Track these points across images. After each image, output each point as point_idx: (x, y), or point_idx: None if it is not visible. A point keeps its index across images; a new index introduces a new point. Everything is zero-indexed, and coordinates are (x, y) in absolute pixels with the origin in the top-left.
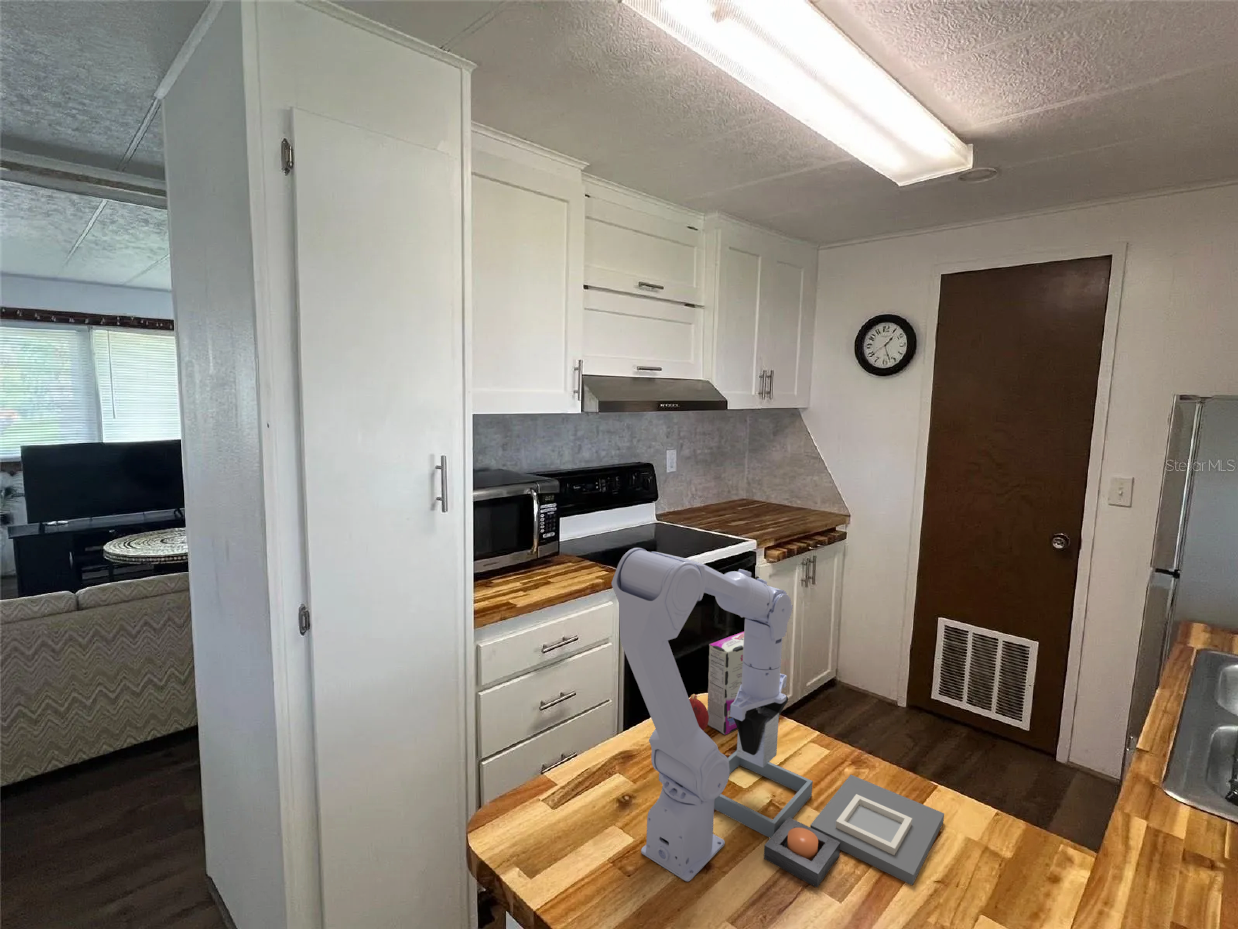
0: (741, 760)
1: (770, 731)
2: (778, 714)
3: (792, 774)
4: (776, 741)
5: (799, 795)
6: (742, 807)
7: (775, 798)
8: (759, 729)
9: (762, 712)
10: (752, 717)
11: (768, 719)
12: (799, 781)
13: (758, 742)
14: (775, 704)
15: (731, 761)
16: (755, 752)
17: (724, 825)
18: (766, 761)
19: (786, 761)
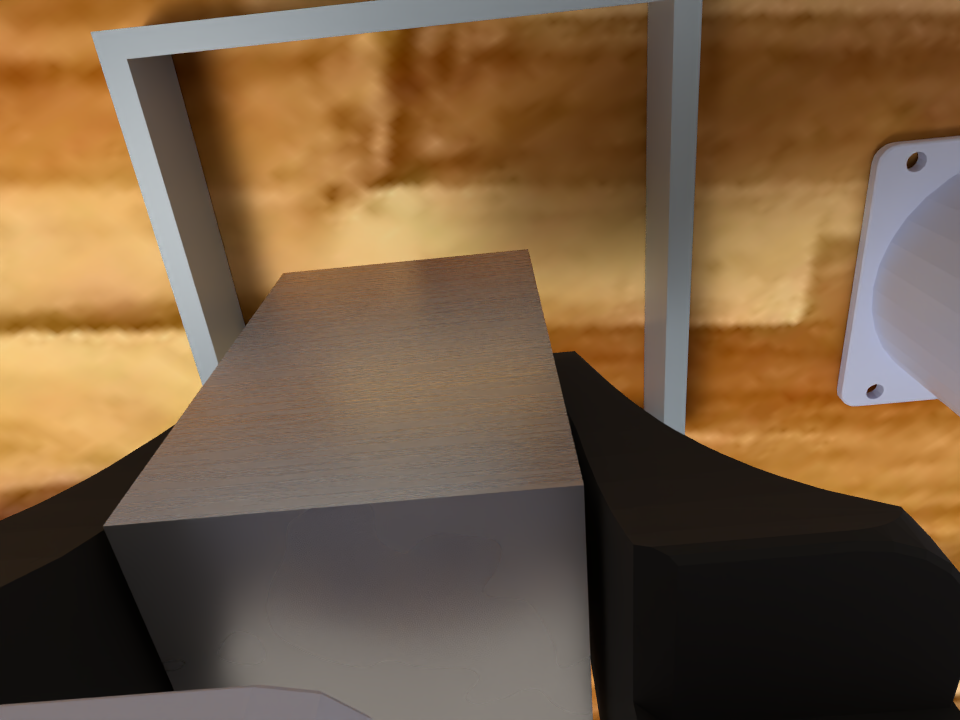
0: None
1: (398, 397)
2: (124, 511)
3: (161, 174)
4: (262, 324)
5: (308, 10)
6: (692, 206)
7: (346, 173)
8: (707, 472)
9: (321, 658)
10: (908, 696)
11: (417, 524)
12: (156, 116)
13: (573, 392)
14: (55, 676)
15: None
16: (569, 357)
17: (737, 234)
18: (469, 263)
19: (19, 314)
